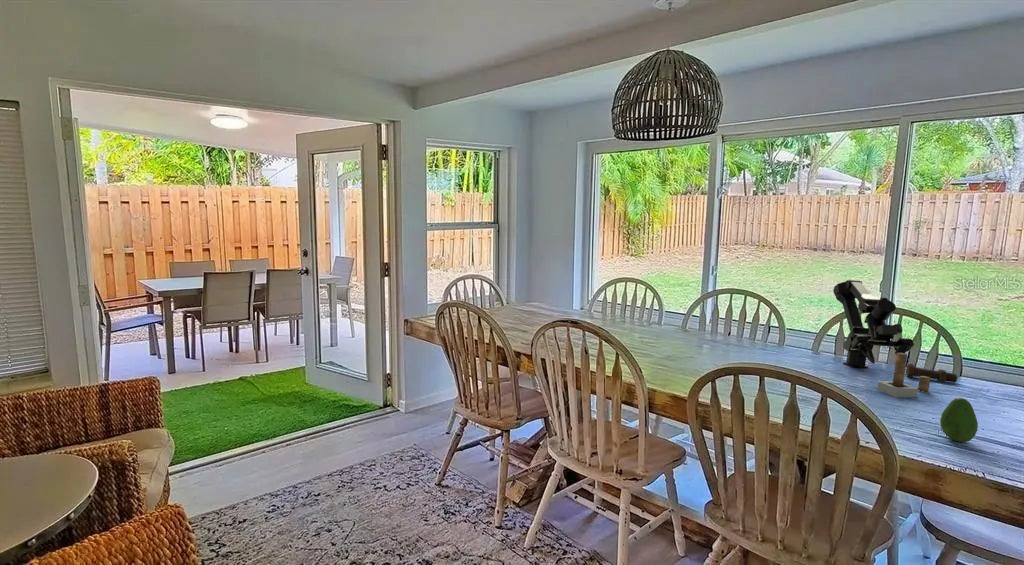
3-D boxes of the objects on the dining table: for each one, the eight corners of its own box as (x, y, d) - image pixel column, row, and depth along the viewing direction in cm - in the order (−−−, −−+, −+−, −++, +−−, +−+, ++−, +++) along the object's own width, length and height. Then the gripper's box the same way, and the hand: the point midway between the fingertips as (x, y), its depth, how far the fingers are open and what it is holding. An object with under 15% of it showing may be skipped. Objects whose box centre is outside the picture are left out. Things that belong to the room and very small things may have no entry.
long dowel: (889, 392, 189) (894, 353, 187) (894, 391, 191) (899, 352, 189) (899, 395, 187) (904, 355, 185) (903, 394, 188) (909, 354, 186)
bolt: (955, 388, 202) (906, 380, 209) (953, 379, 205) (905, 371, 212) (959, 377, 198) (909, 369, 205) (958, 368, 202) (908, 360, 209)
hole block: (877, 389, 192) (878, 381, 192) (897, 389, 193) (898, 381, 193) (895, 397, 184) (896, 389, 184) (917, 397, 185) (918, 388, 185)
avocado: (957, 434, 155) (964, 394, 153) (982, 447, 147) (989, 404, 145) (930, 434, 154) (936, 393, 153) (953, 446, 147) (960, 403, 145)
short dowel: (915, 389, 194) (917, 375, 193) (923, 389, 194) (925, 375, 193) (922, 392, 191) (924, 378, 190) (930, 392, 191) (932, 378, 190)
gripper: (858, 313, 200) (868, 351, 191) (915, 317, 197) (928, 355, 188) (847, 329, 209) (856, 366, 200) (901, 333, 206) (912, 370, 197)
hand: (887, 364), depth 196 cm, fingers open, 9 cm apart
